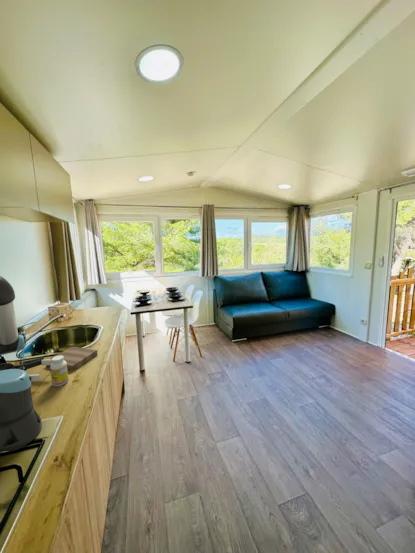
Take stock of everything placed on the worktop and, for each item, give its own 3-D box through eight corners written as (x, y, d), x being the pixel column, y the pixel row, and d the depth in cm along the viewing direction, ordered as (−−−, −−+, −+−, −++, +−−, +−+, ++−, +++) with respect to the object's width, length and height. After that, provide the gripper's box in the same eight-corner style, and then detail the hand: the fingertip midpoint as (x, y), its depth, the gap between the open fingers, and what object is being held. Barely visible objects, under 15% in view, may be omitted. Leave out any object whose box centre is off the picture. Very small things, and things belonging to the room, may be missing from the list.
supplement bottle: (49, 384, 111) (46, 359, 109) (63, 377, 117) (60, 353, 115) (57, 388, 108) (54, 362, 106) (71, 381, 114) (69, 356, 112)
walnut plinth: (73, 370, 123) (73, 365, 122) (45, 366, 127) (45, 361, 127) (97, 354, 140) (97, 349, 139) (72, 351, 144) (72, 346, 144)
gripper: (19, 365, 122) (62, 363, 125) (-22, 396, 98) (32, 393, 100) (17, 351, 121) (60, 349, 123) (-25, 380, 97) (30, 377, 99)
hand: (48, 369), depth 112 cm, fingers open, 13 cm apart
